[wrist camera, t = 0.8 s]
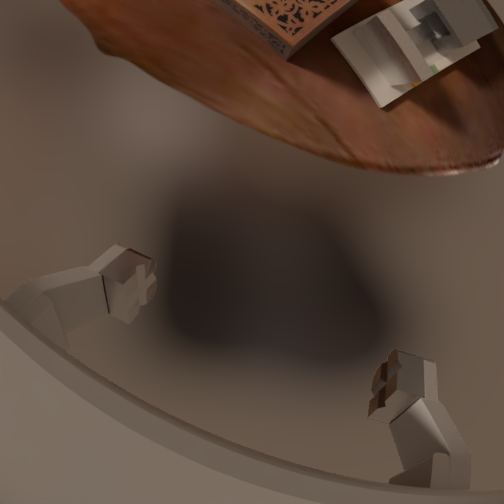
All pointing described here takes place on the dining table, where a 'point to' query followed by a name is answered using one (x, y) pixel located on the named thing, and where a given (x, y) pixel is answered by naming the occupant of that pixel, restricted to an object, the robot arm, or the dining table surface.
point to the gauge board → (433, 58)
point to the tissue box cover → (285, 20)
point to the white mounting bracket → (396, 48)
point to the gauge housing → (457, 21)
